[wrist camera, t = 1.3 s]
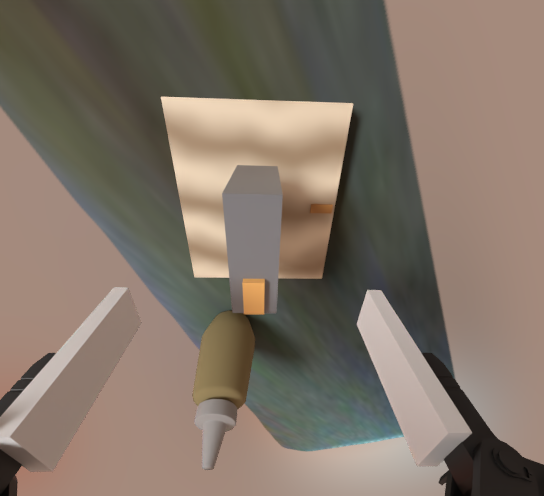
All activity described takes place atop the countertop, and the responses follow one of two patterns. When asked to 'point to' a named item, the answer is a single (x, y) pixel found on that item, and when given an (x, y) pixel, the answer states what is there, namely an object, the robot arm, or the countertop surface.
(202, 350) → the squeeze bottle
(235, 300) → the grey block
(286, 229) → the base
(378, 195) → the countertop surface
